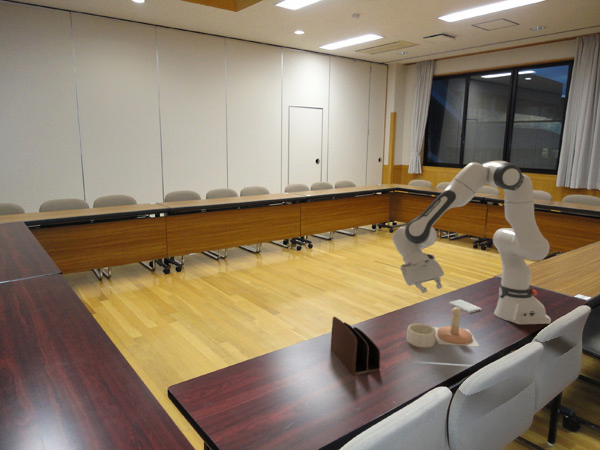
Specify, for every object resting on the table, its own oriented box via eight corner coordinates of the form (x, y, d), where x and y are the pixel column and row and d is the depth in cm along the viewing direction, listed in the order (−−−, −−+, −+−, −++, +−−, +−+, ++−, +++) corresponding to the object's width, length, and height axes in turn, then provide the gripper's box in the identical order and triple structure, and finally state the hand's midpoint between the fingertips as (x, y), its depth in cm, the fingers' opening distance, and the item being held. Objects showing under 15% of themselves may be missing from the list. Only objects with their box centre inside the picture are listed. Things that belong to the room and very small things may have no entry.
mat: (468, 330, 174) (468, 329, 174) (479, 347, 159) (479, 346, 159) (431, 328, 175) (431, 327, 175) (438, 345, 161) (438, 343, 161)
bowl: (431, 337, 167) (432, 324, 166) (436, 349, 157) (437, 335, 156) (405, 335, 169) (406, 322, 168) (408, 347, 159) (409, 334, 158)
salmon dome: (466, 330, 173) (469, 302, 170) (476, 345, 160) (479, 315, 158) (434, 328, 174) (436, 300, 172) (440, 342, 162) (443, 313, 159)
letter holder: (353, 376, 139) (355, 337, 136) (330, 348, 157) (331, 313, 155) (380, 371, 142) (382, 332, 139) (354, 345, 161) (355, 310, 158)
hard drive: (448, 301, 202) (469, 310, 192) (460, 299, 206) (482, 307, 195) (448, 305, 203) (469, 314, 192) (460, 302, 206) (481, 311, 196)
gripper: (403, 261, 172) (420, 291, 166) (436, 254, 183) (453, 282, 177) (394, 269, 177) (410, 298, 171) (427, 262, 188) (443, 289, 182)
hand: (432, 290), depth 174 cm, fingers open, 8 cm apart
